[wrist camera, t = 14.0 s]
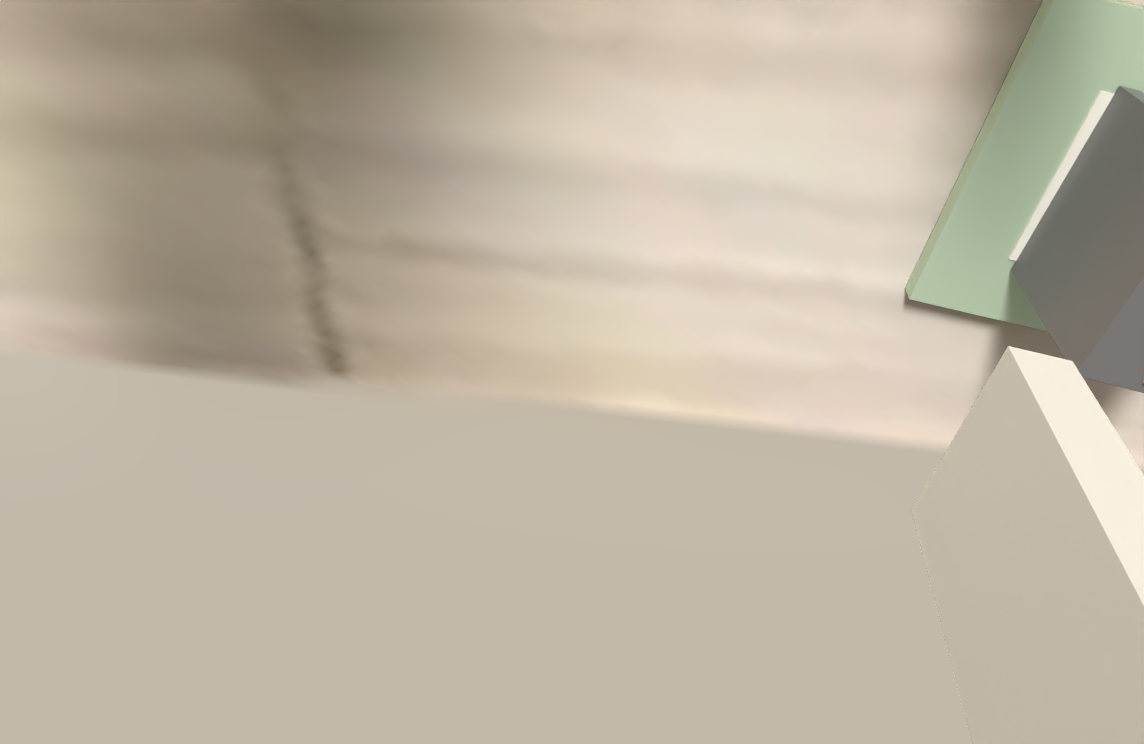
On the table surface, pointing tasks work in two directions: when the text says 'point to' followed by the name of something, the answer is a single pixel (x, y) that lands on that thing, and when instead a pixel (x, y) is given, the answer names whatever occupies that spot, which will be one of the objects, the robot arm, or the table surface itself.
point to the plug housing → (1096, 252)
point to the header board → (1028, 154)
